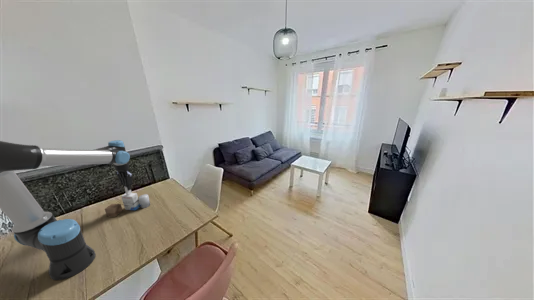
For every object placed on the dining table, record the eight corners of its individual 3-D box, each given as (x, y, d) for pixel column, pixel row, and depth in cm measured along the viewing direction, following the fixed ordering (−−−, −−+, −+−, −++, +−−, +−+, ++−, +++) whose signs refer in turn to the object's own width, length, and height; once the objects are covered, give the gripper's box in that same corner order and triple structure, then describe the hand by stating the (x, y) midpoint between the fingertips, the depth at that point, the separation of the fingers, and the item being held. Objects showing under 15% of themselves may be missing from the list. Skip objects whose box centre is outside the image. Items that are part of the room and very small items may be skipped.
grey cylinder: (145, 208, 125) (142, 199, 122) (138, 207, 126) (136, 198, 124) (152, 204, 130) (150, 195, 128) (146, 202, 132) (143, 193, 129)
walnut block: (115, 216, 117) (113, 209, 115) (106, 216, 117) (104, 209, 115) (122, 210, 122) (120, 203, 120) (114, 210, 122) (112, 203, 120)
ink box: (140, 206, 127) (137, 192, 124) (135, 210, 123) (131, 196, 119) (130, 205, 128) (126, 191, 124) (124, 209, 123) (120, 195, 120)
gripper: (134, 162, 116) (141, 192, 123) (119, 160, 119) (127, 189, 126) (122, 166, 109) (130, 198, 116) (107, 164, 112) (116, 195, 120)
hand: (129, 193), depth 121 cm, fingers closed
